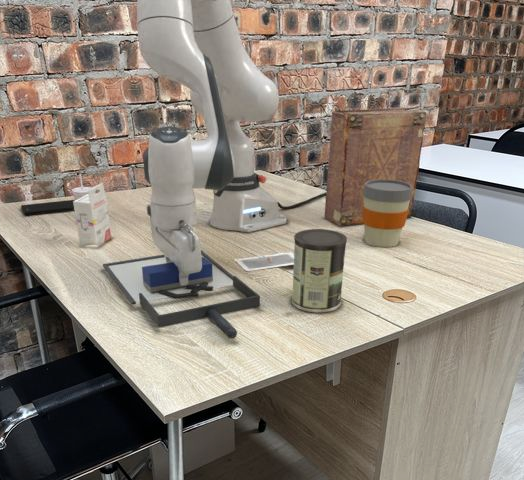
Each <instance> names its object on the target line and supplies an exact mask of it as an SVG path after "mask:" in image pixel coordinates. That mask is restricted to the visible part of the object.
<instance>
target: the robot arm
mask: <svg viewBox="0 0 524 480" xmlns="http://www.w3.org/2000/svg"><path fill="white" fill-rule="evenodd" d="M234 13H235V12H234V10H233V6H232V3H231V0H136V26H137V38H138V39H137V40H138V47H139V51H140V56H141V57H142V59H143V61H144V62H145V64H146V65H147V66H148V67H149V68H150V69H151V70H152V71H154V72H155V73H156V74H158V75H159V76H161V77H163V78H165V79H167V80H169V81H173V82H174V83H177V84H180V85H181V86H184V87H186V88H188V89H189V91H190V92H189V97H190V102H191V106H192V107H193V109H194V110H195V111H196V112H197V113H198V114H199V116H200V117H201V118H202V120H203V122H204V125H205V129H206V135H207V137H206V138H204V139H191V136H190V133H189V132H188V131H187V130H186V129H184V128H181V127H177V126H161V127H158V128H155V129H153V130H152V131H150V133H149V137H148V146H147V148H145V150H144V151H143V152H142V161H143V171H144V172H143V173H144V180H145V181H146V182H147V183H148V184H149V185H150V186H151V195H150V204H146V214H147V215H148V217H149V224H150V231H151V232H150V233H151V237H152V241H153V244H154V246H155V247H156V248H157V249H158V250H159V251H161V252H162V253H163V255H164V257H165V260H166V263H170V262H173V263H174V264H175V265H176V266H177V267H178V270H179V276H178V283H179V284H180V285H182V286H183V285H187V284H188V276H189V274H192V273H197V272H200V271H201V269H202V258H201V250H202V249H201V241H200V238H199V236H198V234H197V233H196V232H195V231H193V230H194V229H193V227H194V226H195V225H196V224H197V203H196V201H197V200H196V194H195V192H194V189H204V190H210V191H211V190H212V193H213V204H212V211H211V216H210V219H209V225H211V226H212V227H213V228H216V229H221V230H224V231H225V230H226V231H238V232H243V233H252V232H256V231H260V230H265V229H268V228H272V227H277V226H281V225H285V224H287V223H288V220H287V217H286V216H285V215H284V214H282V213H280V209H281V210H283V211H284V210H291V209H295V208H297V207H301V206H304V205H306V204H308V203H311V202H313V201H315V200H318V199H320V198H323V197H326V192H323V193H320V194H318V195H315V196H313V197H311V198H308V199H306V200H302V201H300V202H298V203H297V202H296V203H294V204H292V205H289V206H284V205H282V204H281V203H280V202H279V201H277V199H276V198H275V197H274V196H273V195H272V194H270V193H269V192H268V191H266V189H264V188H263V187H262V186H260V183H261V184H266V182H267V177H266V176H265V175H263V174H258V173H256V172H255V146H254V142H253V141H252V139H251V138H250V137H248V136H247V134H245V132H244V131H243V129H242V127H241V124H240V122H248V123H256V122H257V123H258V122H264V121H269V120H270V119H272V118H273V117H274V115H275V114H276V112H277V111H278V107H279V103H280V94H279V89H278V87H277V85H276V84H275V82H274V81H273V80H272V79H270V78H269V77H267V76H266V75H265V74H264V73H263V72H262V71H261V70H260V69H259V68H258V66H257V65H256V64H255V63H254V61H253V60H252V59H251V57H250V55H249V53H248V52H247V50H246V48H245V46H244V43H243V41H242V38H241V35H240V31H239V28H238V24H237V21H236V18H235V14H234Z"/></svg>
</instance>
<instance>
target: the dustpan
mask: <svg viewBox="0 0 524 480" xmlns="http://www.w3.org/2000/svg"><path fill="white" fill-rule="evenodd" d="M232 287H234V289H236V290H237V291H238V292H239V293H241V294H242V295H243V296H244V297H243V298H237V299H231V300H228V301H223V302H217V303H213V304H207V305H203V306H198V307H193V308H188V309H183V310H178V311H173V312H167V313H164V314H159V313H158V311H157V310H156V309H155V308H154V306H153V305H152V304H151V303H150V301H147V299H146V298H145V297H144V296H143V294H142V293H139V299H140V303H139V304H140V306H141V307H142V309H143V310H144V311H145V312H146V314H147V315H148V316H149V318H150V319H151V320H152V321H153V322H154V324H155V325H156V326H157V328H164V327H168V326H173V325H178V324H182V323H188V322H191V321H197V320H201V319H206V318H208V319H209V320H210V321H211V322H212V323H213V325H215V326H216V327H217V328H218V329H219V330H220V331H221V332H222V334H224V335H225V336H226V337H227V338H228V339H232V340H233V339H235V338H236V337H237V336H238V331H237V329H236V328H235V327H234V326H233V325H232V324H231V323H230V322H229V321H228V320H227V319H226V318H225V317H224V316H223V315H224V314H225V315H226V314H230V313H235V312H239V311H244V310H249V309H253V308H254V309H255V308H258V307H260V306H261V295H259V294H258V293H257V292H256V291H255V290H253V289H252V288H251V287H249V285H247V283H245V282H243V281H242V280H241V279H240V278H239V277H237V276H236V275H233V285H232Z"/></svg>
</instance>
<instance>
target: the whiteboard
mask: <svg viewBox="0 0 524 480" xmlns="http://www.w3.org/2000/svg"><path fill="white" fill-rule="evenodd" d="M202 257H203V258H205V259H206V260H208V261H209V262H211V263H212V273H213V281H211V282H208V285H207V286H213V290H216V289H221V288H226V287H231V286H232V287H233V276H234V275H233V274H231V273H230V272H229V271H228V270H226V268H224V267H223V266H222V265H220V264H219V263H218V262H217V261H215V260H214V259H213V258H212V257H211V256H209V255H208V254H207V253H206V252H204V251H203V250H202V249H201V258H202ZM164 263H166V260H165V257H164V254H160V255H159V254H157V255H153V256H145V257H139V258H133V259H127V260H121V261H120V260H119V261H113V262H106V263H103V264H102V267H103V268H104V269H105V271H106V272H107V273H108V275H109V276H110V278H111V279H112V280H113V281H114V283H115V284H116V285H117V287H118V288H119V289H120V291H121V292H122V293H123V294H124V296H125V297H126V299H127V300H128V301H129V302H130V304H131V305H137V304H140V299H139V293H142V294H143V296H144V297H145V298H146V299H147V301H148V302H151V301H152V302H153V301H156V300H157V301H159V300H162V299H167V298H168V299H169V297H168V296H165V295H161V294H159V291H155V292H150V291H149V290H148V289H147V288H146V287H145V286H144V285H143V274H142V267H145V266H151V265H158V264H164ZM200 284H202V283H200ZM200 284H194V285H197V286H199V285H200ZM191 290H192V289H186V286H183V287H178V288H172V289H166V290H165V291H168V292H172V293H175V294H183V293H191ZM205 291H206V290H200V291H199V292H205ZM199 292H198V293H199Z"/></svg>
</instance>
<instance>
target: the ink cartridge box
mask: <svg viewBox="0 0 524 480" xmlns="http://www.w3.org/2000/svg"><path fill="white" fill-rule="evenodd" d="M95 191H96V193H95V194H94V192H95ZM97 191H98V192H97ZM74 200H75V199H74ZM73 204H74V210H73V211H74V216H75V221H76V228H77V233H78V239H79V246H80V247H85V246H92V245H99V244H105V243H106V242H107V241H109V240H110V239H112V234H111V225H110V218H109V210H108V201H107V194H106V190H105V185H104V182H101V183H99V184H97V185H95V186H93V188H91V189H89V190H88V194H87V195H85V196H83V197H81V198H79V199H77V200H75V201H73Z"/></svg>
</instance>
